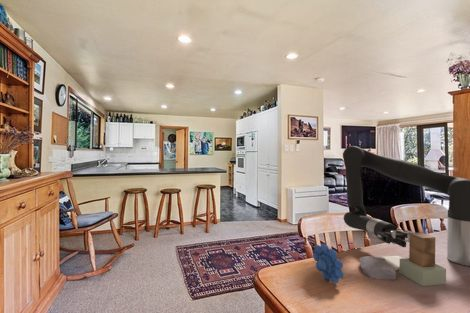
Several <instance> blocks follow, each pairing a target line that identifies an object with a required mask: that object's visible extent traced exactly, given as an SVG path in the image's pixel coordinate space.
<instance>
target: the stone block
mask: <svg viewBox="0 0 470 313" xmlns="http://www.w3.org/2000/svg"><path fill="white" fill-rule="evenodd" d="M378 257H379V256H370V255H369V256H368V255H367V256H366V255H365V256H362V257H360V258H359V263H360V264H359V265H360V267H361V270H362V271H363V274H365V275H366V276H367V277H369V278H370V279H377V280H386V281H387V280H389V281H391V280H392V281H395V280H396V271H395V269H394V268H393V266H392V265H390V264H388V263H387V262H386V260H385V259H384V258H378Z"/></svg>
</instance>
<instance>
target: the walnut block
mask: <svg viewBox="0 0 470 313" xmlns="http://www.w3.org/2000/svg"><path fill="white" fill-rule="evenodd" d="M408 243H409V246H408V248H409V249H408V250H409V251H408V253H409V255H408V258H409V261H410V262H412V263H414V264H416V265H418V266H420V267H422V268H424V267H435V264H436V236H433V235H430V234H427V233H425V232H413V233H409V242H408Z"/></svg>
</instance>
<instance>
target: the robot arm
mask: <svg viewBox="0 0 470 313" xmlns="http://www.w3.org/2000/svg"><path fill="white" fill-rule="evenodd" d="M342 159H343V163H344V166H345V168H344V169H345V175H346V203H347V206H348V207H349V208H354V209H355V211H348V212H345V214H344V215H343V221H344V223H345V225H346V226H348V227H350V228H352V229H355V230H361V231H364V232H366V233H368V234H370V235H372V236H373V237H376V238H377V239H378V240H380V241H382V242H384V243H386V244H388V245H389V244H393V245H398V246H400V247H401V248H406V247H407V243H409V233H414V232H413V231H410V230H408V229H406V230H404V231H403V230H401V229H398V228H397V227H396V226H395V225H394V224H392V223H390V222H387V221H384V220H381V219H379V218H375V217H372V216H370V215H369V216H368V215H367V212H366V208H365V205H364V197H363V196H364V194H363V185H362V177H361V167H365V168H368V169H372V170H374V171H376V172H378V173H380V174H382V175H384V176H386V177H388V178H391V179H393V180H397V181H399V182H402V183H405V184H408V185H409V184H410V185H414V186H418V187H425V188H428V189H432V190H435V191H438V192H440V193H441V194H445V195H447V196H449V197H448V209H447V228H446V229H447V230H446V231H447V238H446V240H447V242H446V244H447V246H446V250H447V251H446V258H447V259H448V260H449V261H450V262H453V263H454V264H457V265H461V266H462V265H463V266H466V267H470V179H468V178H465V177H458V176H454V175H448V174H444V173H441V172H436V171H434V170H431V169H429V168H427V167H425V166H421V165H419V164H417V163H414V162H410V161H407V160H404V159H400V158H395V157H391V156H387V155H381V154H377V153H374V152H371V151H368V150H366V149H364V148H361V147H359V146H356V145H351V146H348V147H346V148H345V149H344V150H343V152H342ZM406 238H407V239H406Z"/></svg>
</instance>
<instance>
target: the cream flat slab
mask: <svg viewBox="0 0 470 313" xmlns="http://www.w3.org/2000/svg"><path fill="white" fill-rule="evenodd" d="M377 257H378V258H384V259H385V260H386V262H387V263H388V264H390V265H392V266H393V268H394V269H395V272H396V271H399V268H400V259H404V257H402V256H400V255H387V256H386V255H385V256H377Z"/></svg>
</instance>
